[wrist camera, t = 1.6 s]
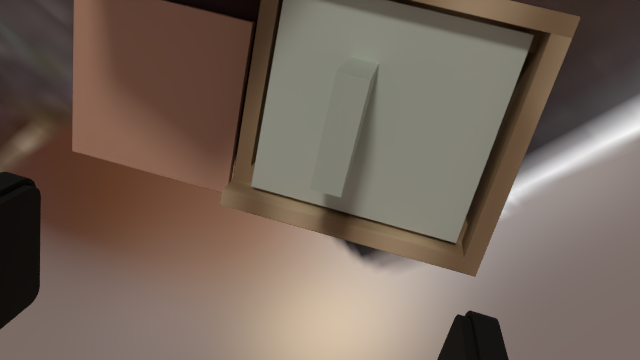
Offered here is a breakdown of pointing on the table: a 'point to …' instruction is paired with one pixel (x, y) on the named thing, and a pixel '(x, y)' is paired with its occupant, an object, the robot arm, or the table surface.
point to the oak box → (499, 172)
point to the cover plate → (385, 110)
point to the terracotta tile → (160, 87)
